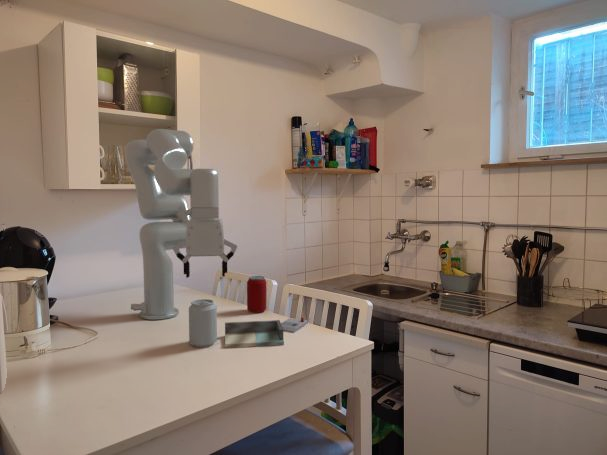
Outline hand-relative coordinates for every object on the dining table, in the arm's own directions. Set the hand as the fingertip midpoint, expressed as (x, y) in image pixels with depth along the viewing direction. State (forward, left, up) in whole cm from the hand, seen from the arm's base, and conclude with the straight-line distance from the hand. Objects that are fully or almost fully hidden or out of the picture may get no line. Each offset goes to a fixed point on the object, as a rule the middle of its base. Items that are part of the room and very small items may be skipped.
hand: (205, 276), depth 123 cm
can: (-1, -1, -19) cm, 19 cm away
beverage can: (+16, +30, -19) cm, 39 cm away
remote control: (+26, +11, -20) cm, 35 cm away
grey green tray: (+13, 0, -19) cm, 23 cm away
